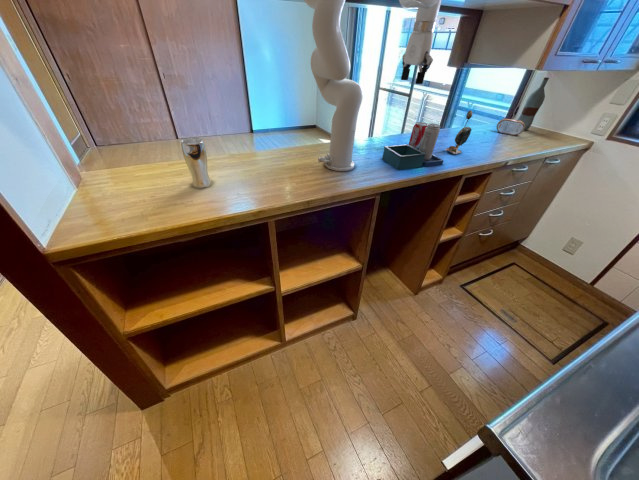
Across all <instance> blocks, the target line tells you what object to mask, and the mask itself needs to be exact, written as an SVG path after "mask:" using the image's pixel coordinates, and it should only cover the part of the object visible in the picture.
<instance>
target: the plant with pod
mask: <svg viewBox="0 0 639 480" xmlns="http://www.w3.org/2000/svg"><path fill="white" fill-rule="evenodd" d="M473 113H474V112H473V111H472V110H468V111H467V113H466V115H465V120H466V122H465V125H464V127H462V128H460V130H459V131H458V132H457V133H456V135H455V138H454V142H455V144H454V145H450V146H449V147H446V148H445V151H448V152H449V153H451V154H453V155H458V154H461V153H462V150H458V149H459V148H460V146H463V145H464V144H465V143H467V141H468V139H469V137H470V135H471V133H472V127H470V126H467V124H468V122H469V120H470V119H471V118H472V117H473Z"/></svg>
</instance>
